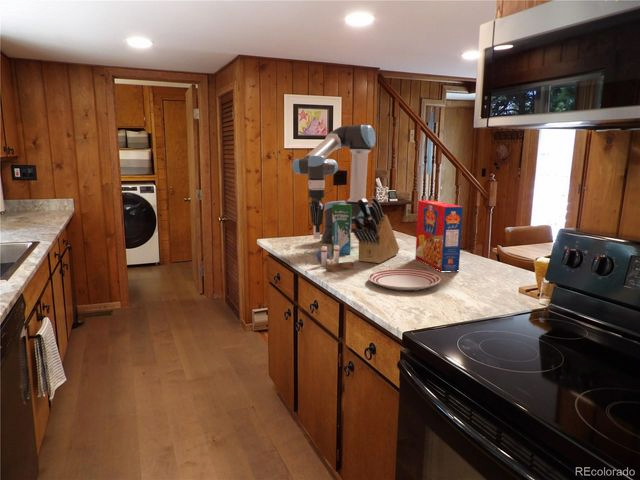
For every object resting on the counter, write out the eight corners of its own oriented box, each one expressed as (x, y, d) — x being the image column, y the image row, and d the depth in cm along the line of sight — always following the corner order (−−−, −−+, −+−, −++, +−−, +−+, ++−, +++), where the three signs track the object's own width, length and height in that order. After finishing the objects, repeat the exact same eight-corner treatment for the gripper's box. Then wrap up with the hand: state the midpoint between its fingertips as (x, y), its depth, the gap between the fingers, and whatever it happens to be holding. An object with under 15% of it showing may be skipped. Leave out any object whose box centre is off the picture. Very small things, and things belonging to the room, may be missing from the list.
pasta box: (415, 258, 226) (418, 200, 221) (430, 258, 227) (433, 200, 222) (441, 272, 199) (445, 207, 194) (458, 272, 200) (462, 206, 195)
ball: (333, 254, 213) (329, 264, 217) (328, 246, 218) (325, 255, 221) (321, 255, 211) (317, 264, 214) (316, 246, 215) (313, 256, 219)
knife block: (348, 265, 210) (350, 196, 205) (378, 251, 240) (380, 191, 235) (371, 268, 205) (374, 197, 199) (399, 254, 235) (402, 192, 229)
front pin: (327, 257, 212) (335, 261, 204) (330, 262, 213) (338, 265, 205) (323, 260, 211) (331, 264, 204) (325, 265, 212) (334, 269, 204)
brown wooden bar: (351, 268, 205) (351, 261, 204) (353, 269, 203) (353, 262, 202) (326, 270, 200) (326, 263, 199) (328, 271, 198) (328, 264, 197)
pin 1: (325, 264, 211) (325, 246, 209) (327, 266, 208) (327, 247, 207) (320, 265, 210) (320, 246, 208) (322, 266, 207) (322, 247, 206)
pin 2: (337, 263, 213) (337, 245, 212) (339, 264, 211) (340, 246, 209) (332, 264, 212) (332, 245, 211) (334, 265, 210) (335, 246, 208)
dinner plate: (366, 293, 169) (366, 284, 168) (368, 274, 196) (369, 266, 195) (444, 296, 165) (445, 287, 165) (436, 277, 192) (436, 269, 191)
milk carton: (350, 251, 242) (351, 202, 237) (349, 254, 233) (351, 204, 228) (333, 250, 243) (333, 202, 238) (331, 254, 234) (332, 204, 229)
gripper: (303, 188, 223) (304, 236, 228) (314, 190, 211) (314, 241, 216) (318, 187, 226) (318, 235, 231) (329, 189, 214) (329, 240, 219)
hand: (316, 238), depth 223 cm, fingers closed
